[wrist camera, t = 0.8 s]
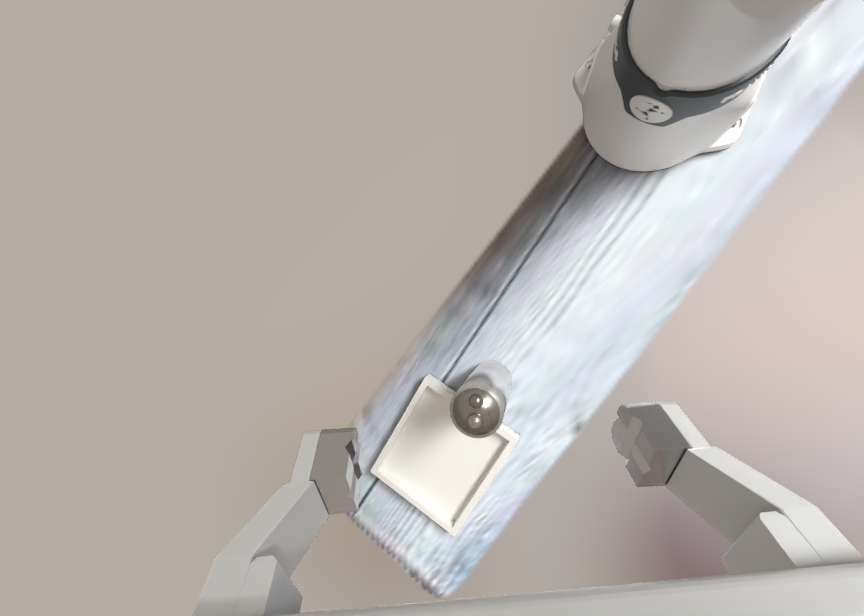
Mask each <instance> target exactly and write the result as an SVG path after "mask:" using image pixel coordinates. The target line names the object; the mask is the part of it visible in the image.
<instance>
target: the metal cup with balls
mask: <svg viewBox="0 0 864 616" xmlns="http://www.w3.org/2000/svg"><path fill="white" fill-rule="evenodd" d="M511 385H512V378H511V374H510V372H509V370H508V369H507V368H506V367H505V366H504V365H503V364H501V363H499V362H497V361H485V362H482V363H480V364H479V365H478V366H477V367H476V368H475V369H474V371H473V372H472V373H471V374H470V375H469V377H468V378H467V379H466V380H465V382H464V383H463V384H462V385H461V387H460V388H459V389H458V390H457V392H456V393H455V394H454V396H453V397H452V399H451V402H450V409H449V410H450V417H451V420H452V422H453V424H454V425H455V427H456V428H457V429H458V430H459V431H460V432H461V433H463V434H464V435H466V436H469V437H472V438H485V437H488V436H490V435H492V434H494V433H495V432H496V431H497V430H498V428H499V427H500V425H501V423H502V420H503V416H504V412H505V408H506V405H507V401H508V397H509V393H510V389H511Z"/></svg>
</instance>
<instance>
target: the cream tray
mask: <svg viewBox="0 0 864 616" xmlns="http://www.w3.org/2000/svg"><path fill="white" fill-rule="evenodd" d="M455 393H456V391H454V390H453V389H451V388H450V387H448V386H447V385H445V384H444V383H442V382H441V381H439V380H438V379H436V378H435V377H433V376H432V375H430V374H429V375H427V376H426V377H425V378H424V380H423V381H422V383H421V385H420V387H419V388H418V390H417V392H416V394H415V395H414V397H413V399H412V400H411V402H410V404H409V406H408V407H407V409H406V411H405V412H404V414H403V416H402V418H401V419H400V421H399V423H398V424H397V426H396V428H395V430H394V431H393V433H392V435H391V436H390V438H389V440H388V442H387V443H386V445H385V447H384V448H383V450H382V452H381V454H380V455H379V457H378V459H377V460H376V462H375V464H374V466H373V467H372V469H371V471H370V472H371V473H372V474H374V475H375V476H376V477H378V478H379V479H380V480H382V481H383V482H384V483H385V484H387V485H388V486H389V487H391V488H392V489H393V490H395V491H396V492H397V493H398V494H400V495H401V496H402V497H404V498H405V499H406V500H408V501H409V502H410V503H411V504H413V505H414V506H415V507H417V508H418V509H419V510H420V511H422V512H423V513H424V514H426V515H427V516H428V517H430V518H431V519H432V520H433V521H435V522H436V523H437V524H439V525H440V526H441V527H443V528H444V529H445V530H446V531H448V532H449V533H450V534H452V535H453V536H454V537H455V535H456V534H457V532H458V531H459V529H460V528H461V526H462V525H463V523H464V522H465V520H466V519H467V517H468V516H469V514H470V513H471V511H472V510H473V508H474V507H475V505H476V504H477V502H478V501H479V499H480V498H481V496H482V495H483V493H484V492H485V490H486V489H487V487H488V486H489V484H490V483H491V481H492V480H493V478H494V477H495V475H496V473H497V472H498V470H499V469H500V467H501V466H502V464H503V463H504V461H505V460H506V458H507V457H508V455H509V454H510V452H511V451H512V449H513V448H514V446H515V445H516V443H517V442H518V440H519V433H517V432H516V431H514V430H513V429H511V428H510V427H508V426H507V425H505V424H504V423H501V425H500V427H499V428H498V430H497V431H496V432H495V433H494V434H492V435H490V436H488V437H485V438H472V437H469V436H466V435H464V434H463V433H461V432H460V431H459V430H458V429H457V428H456V427H455V425H454V424H453V422H452V420H451V417H450V410H449V409H450V402H451V399H452V397H453V396H454V394H455Z"/></svg>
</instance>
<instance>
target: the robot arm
mask: <svg viewBox="0 0 864 616" xmlns="http://www.w3.org/2000/svg"><path fill="white" fill-rule="evenodd" d="M826 1H827V0H626V2H625V6H626V9H625V11H624V14H623V15H622V17H621V16H619V15H616V16H615V17H614V19H613V20H612V21H611V23H610V25H609V27H608V31H609V32H608V34H607V35H606V36H605V37H604V39H603V40H601V41H600V43H599V45H598V46H597V47H596V49H595V50H594V51H593V52H592V53H591V54H590V56H589V57H588V58H587V60H586V61H585V62H584V63H583V64H582V65H581V67H580V68H579V69H578V71H577V72H576V74H575V76H574V79H573V86H574V89H575V91H576V93H577V95H578V97H579V99H580V101H581V102H582V108H583V124H584V129H585V133H586V135H587V138H588V140H589V142H590V144H591V145H592V147H593V148H594V150H595V151H596V152H597V153H598V154H599V155H600V156H601V157H602V158H604V159H605V160H606V161H608V162H610V163H611V164H613V165H615V166H618V167H620V168H624V169H627V170H633V171H655V170H661V169H665V168H668V167H671V166H674V165H677V164H679V163H681V162H683V161H685V160H687V159H689V158H691V157H692V156H695V155H697V154H700V153H705V152H712V151H718V150H723V149H726V148H729V147H730V146H732V145H733V144H734V143H735V142H736V141H737V140H738V139H739V137H740V135H741V133H742V130H743V128H744V126H745V123H746V121H747V119H748V116H749V114H750V111H751V109H752V107H753V104H754V103H755V101H756V100H757V95H758V93H759V90H760V88H761V85H762V83H763V81H764V78H765V76H766V74H767V71H768V69H769V68H770V67H771V65H772V64H773V63H774V62H775V61H776V60H775V59H776V58H777V57H778V56H779V55H780V54H781V52H782V51H783V50H784V48H785V47H786V45H787V44H788V42H789V40H790V38H791V36H792V35H793V34H794V33H795V32H796V31H797V30H798V29H799V28H800V27H801V26H802V25H803V24H804V23H805V22H806V21H807V20H808V19H809V18H810V17H811V16H812V15H813V14H814V13H815V12H816V11H817V10H818V9H819V8H820V7H821V6H822V5H823V4H824V3H825V2H826ZM588 69H590V71H589V70H588ZM732 126H733V128H731V127H732ZM617 414H618V416H619V418H618V419H617V420H616V421H614V423H613V426H612V439H613V442H614V445H615V447H616V449H617V451H618V453H620V454H621V455H622V456H624V457H625V458H626V459H627V463H626V468H627V469H628V471H629V473H630V475H631V477H632V478H633V480H634V482H635V484H636V486H637V487H648V486H665V485H667V486H666V488H667V489H669V490H670V491H671V492H672V493H673V494H675V495H676V496H677V497H678V498H679V499H681V500H682V501H683V502H684V503H685V504H686V505H687V506H689V507H690V508H691V509H692V510H693V511H695V512H696V513H697V514H698V515H699V516H700V517H701V518H703V519H704V520H705V521H706V522H707V523H708V524H710V525H711V526H712V527H713V528H714V529H716V530H717V531H718V532H719V533H720V534H721V535H723V536H724V537H725V538H726V539H728V541H730V542H731V543H732V544H731V546H730V547H729V548H728V549H727V550H726V551H725V552H724V553H723V555H722V558H721V560H722V562H723V563H724V565H725V567H726V568H727V570H728V572H729V573H730V575H719V576H708V577H697V578H685V579H675V580H664V581H653V582H641V583H630V584H619V585H609V586H597V587H586V588H574V589H564V590H553V591H541V592H530V593H519V594H508V595H497V596H486V597H475V598H464V599H452V600H441V601H430V602H419V603H409V604H397V605H386V606H375V607H364V608H353V609H342V610H332V611H320V612H309V613H300V608H301V602H302V596H301V594H300V592H299V591H298V589H297V588H296V587H295V585H294V584H293V582H292V581H291V580H290V578H289V577H290V576H291V574H292V573H293V571H294V570H295V568H296V567H297V565H298V563H299V562H300V560H301V559H302V557H303V556H304V554H305V553H306V551H307V550H308V548H309V547H310V545H311V544H312V542H313V540H314V539H315V538H316V536H317V534H318V533H319V531H320V530H321V528H322V527H323V525H324V524H325V522H326V521H327V519H328V518H329V515H330V514H339V513H348V512H356V511H358V505H359V496H360V486H359V483H358V479H359V478H360V476H361V475H362V469H363V453H362V447H361V443H359V442H358V441H357V440H358V432H357V429H356V428H342V429H325V430H312V431H305V433H304V434H303V436H302V439H301V443H300V446H299V450H298V453H297V457H296V460H295V464H294V467H293V471H292V474H291V479H290V481H289V483H284V484H283V485H282V486H281V487H280V488H279V489H278V490H277V492H276V493H275V494H274V495H273V496H272V497H271V498H270V499H269V500H268V501H267V502H266V504H265V505H264V506H263V507H262V508H261V509H260V510H259V511H258V513H256V515H255V516H254V517H253V518H252V519H251V520H250V521H249V522H248V523H247V524H246V525H245V526H244V528H243V529H242V530H241V531H240V532H239V533H238V534H237V535H236V536H235V537H234V538H233V540H232V541H231V542H230V543H229V544H228V545H227V546H226V547H225V548H224V549H223V550H222V551H221V553H220V554H219V555H218V556H217V557H216V558H215V560H214V563H213V565H212V567H211V570H210V573H209V575H208V578H207V580H206V583H205V585H204V588H203V590H202V593H201V595H200V598H199V601H198V603H197V606H196V608H195V611H194V613H193V616H864V558H863V557H862V556H861V555H860V554H859V552H858V551H857V550H856V549H855V548H854V547H853V546H852V545H851V544H850V543H849V541H848V540H847V539H846V538H845V537H844V536H843V535H842V534H841V533H840V532H839V531H838V529H837V528H836V527H835V526H834V525H833V524H832V523H831V522H830V521H829V520H828V519H827V517H826V516H825V515H824V514H823V513H822V512H821V511H820V510H819V509H818V508H817V507H816V506H815V505H813V504H811V503H809V502H808V501H806V500H805V499H803V498H801V497H800V496H798V495H796V494H795V493H792V492H791V491H789V490H787V489H786V488H785V487H783V486H781V485H779V484H778V483H776V482H774V481H773V480H771V479H769V478H768V477H766V476H764V475H763V474H761V473H759V472H757V471H756V470H754V469H753V468H751V467H749V466H748V465H746V464H744V463H743V462H741V461H739V460H738V459H736V458H734V457H733V456H731V455H729V454H728V453H726V452H724V451H722V450H721V449H719V448H717V447H710V445H709V444H708V443H707V441H706V440H705V439H704V438H703V437H702V435H701V434H700V433H699V431H698V430H697V429H696V428H695V426H694V425H693V424H692V423H691V421H690V420H689V419H688V418H687V416H686V415H685V414H684V413H683V411H682V410H681V409H680V408H679V406H678V405H677V404H676V403H675V402H673V401H662V402H646V403H636V404H626V405H621V406H620V407H619V409H618V411H617Z"/></svg>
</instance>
